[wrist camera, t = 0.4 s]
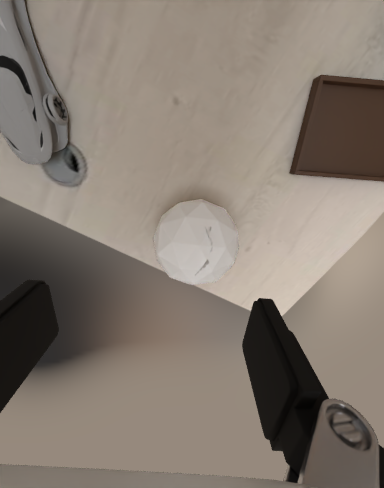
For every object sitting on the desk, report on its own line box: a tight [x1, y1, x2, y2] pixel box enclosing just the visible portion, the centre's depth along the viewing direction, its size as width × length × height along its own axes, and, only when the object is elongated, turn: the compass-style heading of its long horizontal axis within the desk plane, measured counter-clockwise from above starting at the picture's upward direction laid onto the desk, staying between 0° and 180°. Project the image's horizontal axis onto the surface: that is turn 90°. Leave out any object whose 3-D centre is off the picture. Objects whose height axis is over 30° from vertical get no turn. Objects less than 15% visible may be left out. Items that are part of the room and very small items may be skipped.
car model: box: [0, 0, 68, 164], centre depth 28 cm, size 11×24×5 cm, turn 6°
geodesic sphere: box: [153, 199, 239, 285], centre depth 33 cm, size 15×14×14 cm
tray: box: [290, 75, 384, 181], centre depth 32 cm, size 13×18×2 cm
